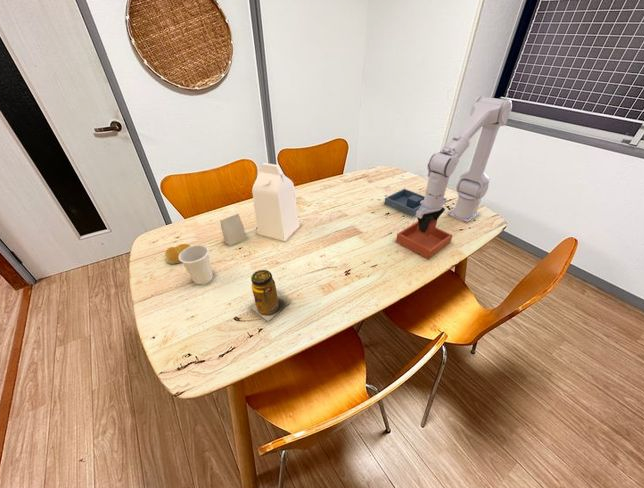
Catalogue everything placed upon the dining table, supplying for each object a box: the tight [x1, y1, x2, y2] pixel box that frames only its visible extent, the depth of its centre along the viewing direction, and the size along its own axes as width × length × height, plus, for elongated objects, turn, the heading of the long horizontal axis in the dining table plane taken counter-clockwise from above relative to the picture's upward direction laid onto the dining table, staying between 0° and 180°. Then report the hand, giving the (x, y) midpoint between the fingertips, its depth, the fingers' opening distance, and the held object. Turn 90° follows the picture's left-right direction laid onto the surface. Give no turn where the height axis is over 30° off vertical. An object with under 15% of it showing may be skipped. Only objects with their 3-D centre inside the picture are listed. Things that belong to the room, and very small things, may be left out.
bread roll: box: [164, 243, 192, 264], centre depth 95 cm, size 8×9×4 cm
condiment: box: [250, 269, 291, 322], centre depth 74 cm, size 7×8×12 cm
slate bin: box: [383, 188, 425, 218], centre depth 120 cm, size 14×15×4 cm
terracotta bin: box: [395, 220, 454, 260], centre depth 99 cm, size 14×14×4 cm
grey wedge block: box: [220, 213, 247, 247], centre depth 100 cm, size 4×7×10 cm, turn 131°
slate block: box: [406, 195, 423, 209], centre depth 117 cm, size 4×4×4 cm
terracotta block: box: [416, 219, 438, 236], centre depth 95 cm, size 4×4×4 cm
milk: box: [251, 162, 301, 242], centre depth 100 cm, size 12×12×26 cm
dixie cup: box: [179, 244, 214, 285], centre depth 84 cm, size 8×8×10 cm
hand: (426, 228), depth 96 cm, fingers closed on terracotta block, 4 cm apart
